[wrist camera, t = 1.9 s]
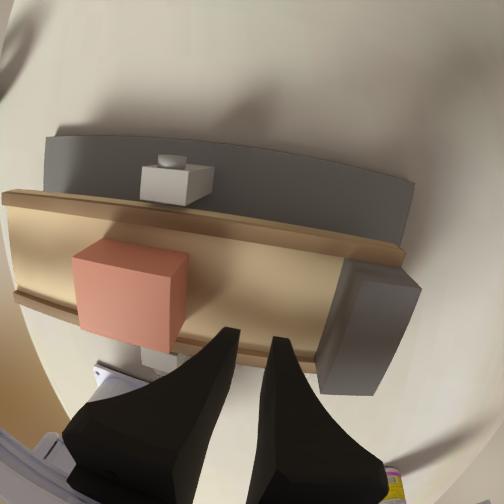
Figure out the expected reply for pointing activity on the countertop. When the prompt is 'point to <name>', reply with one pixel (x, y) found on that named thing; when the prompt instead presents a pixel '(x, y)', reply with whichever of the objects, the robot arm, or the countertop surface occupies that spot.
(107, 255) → the block
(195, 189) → the tilt stand
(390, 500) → the supplement bottle
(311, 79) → the countertop surface
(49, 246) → the beam
